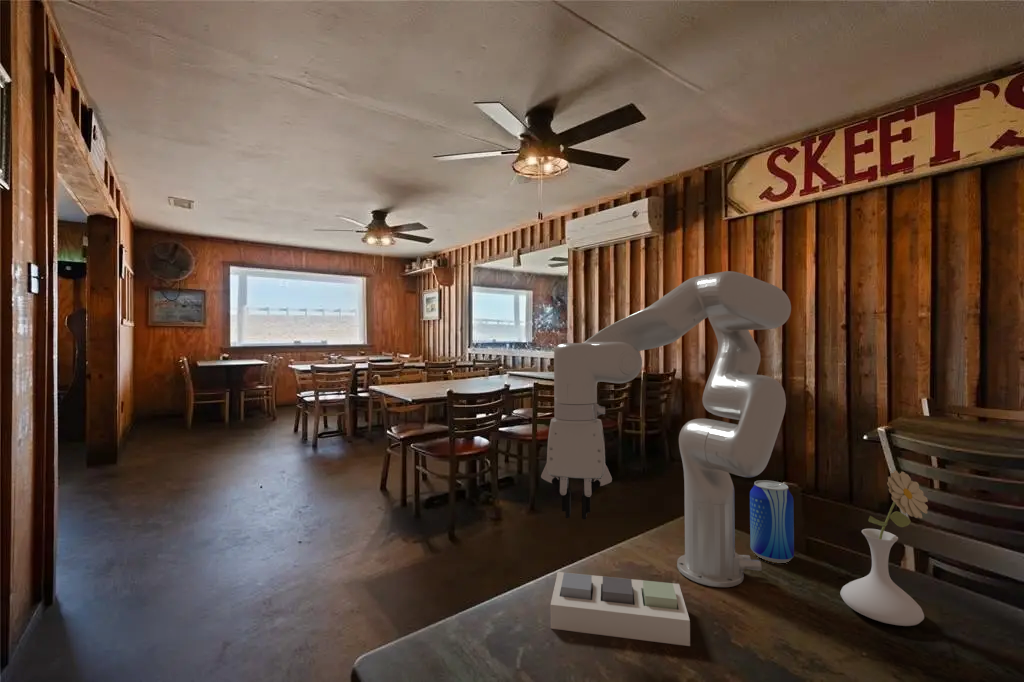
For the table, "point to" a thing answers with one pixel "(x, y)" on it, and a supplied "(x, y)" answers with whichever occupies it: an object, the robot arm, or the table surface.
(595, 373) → the robot arm
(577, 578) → the slate key
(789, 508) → the beer can
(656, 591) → the sage key
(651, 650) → the table surface
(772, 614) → the table surface
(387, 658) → the table surface
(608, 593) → the charcoal key
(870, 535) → the flower in vase
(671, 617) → the keypad
